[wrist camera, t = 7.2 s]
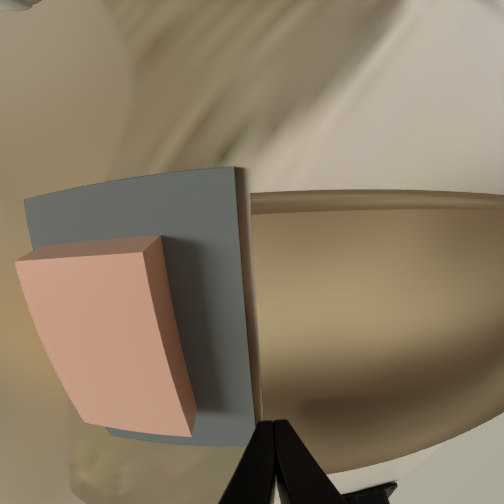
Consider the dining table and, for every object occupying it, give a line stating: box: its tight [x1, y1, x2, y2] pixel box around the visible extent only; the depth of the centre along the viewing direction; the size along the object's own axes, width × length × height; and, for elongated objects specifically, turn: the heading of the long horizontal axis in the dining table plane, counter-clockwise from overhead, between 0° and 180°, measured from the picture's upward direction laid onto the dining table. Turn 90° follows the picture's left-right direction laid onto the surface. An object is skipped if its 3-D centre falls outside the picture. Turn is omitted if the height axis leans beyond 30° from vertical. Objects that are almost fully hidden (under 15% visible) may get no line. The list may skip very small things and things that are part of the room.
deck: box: [250, 190, 504, 474], centre depth 10 cm, size 12×16×4 cm
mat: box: [24, 167, 256, 446], centre depth 12 cm, size 15×10×1 cm, turn 3°
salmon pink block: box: [15, 235, 197, 437], centre depth 11 cm, size 9×6×2 cm, turn 3°
